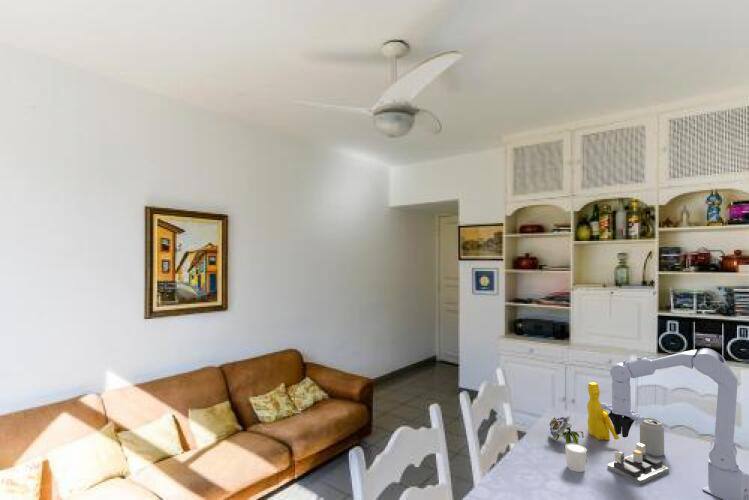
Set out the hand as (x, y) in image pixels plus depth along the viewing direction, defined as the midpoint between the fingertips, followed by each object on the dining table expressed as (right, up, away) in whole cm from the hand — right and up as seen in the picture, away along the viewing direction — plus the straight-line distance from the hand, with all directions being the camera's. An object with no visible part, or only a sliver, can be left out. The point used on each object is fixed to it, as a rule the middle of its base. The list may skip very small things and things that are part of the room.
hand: (621, 435), depth 144 cm
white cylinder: (-18, -10, -2) cm, 21 cm away
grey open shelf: (+3, -10, -5) cm, 11 cm away
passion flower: (-12, -10, +17) cm, 23 cm away
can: (+16, -10, +7) cm, 20 cm away
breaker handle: (+3, -7, -5) cm, 9 cm away
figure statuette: (+3, -10, +20) cm, 22 cm away
